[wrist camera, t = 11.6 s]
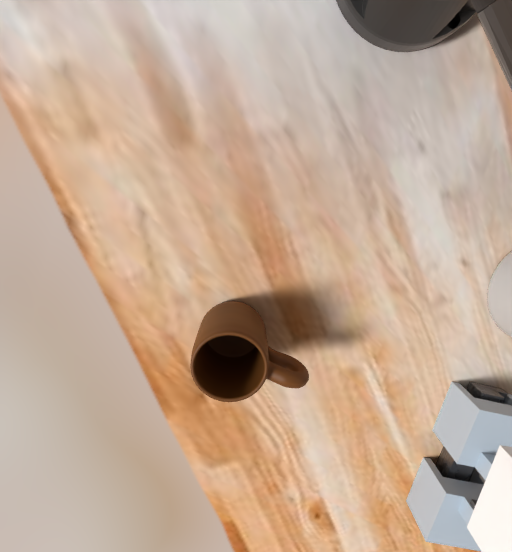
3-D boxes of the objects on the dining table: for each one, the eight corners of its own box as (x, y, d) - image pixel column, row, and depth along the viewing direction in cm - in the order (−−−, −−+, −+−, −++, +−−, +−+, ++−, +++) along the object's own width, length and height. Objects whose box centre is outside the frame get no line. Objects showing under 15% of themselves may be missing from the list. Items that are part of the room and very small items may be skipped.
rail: (469, 381, 48) (482, 393, 46) (501, 388, 48) (515, 400, 46) (416, 512, 53) (424, 529, 50) (445, 517, 53) (455, 534, 51)
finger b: (451, 381, 48) (509, 439, 38) (511, 394, 49) (585, 455, 38) (430, 433, 50) (480, 503, 39) (489, 445, 51) (553, 517, 40)
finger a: (424, 453, 51) (472, 527, 40) (482, 465, 51) (544, 540, 41) (406, 501, 52) (446, 583, 42) (461, 511, 53) (516, 595, 42)
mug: (309, 319, 46) (325, 354, 37) (289, 375, 47) (299, 423, 38) (210, 291, 45) (200, 320, 36) (193, 350, 46) (179, 393, 37)
